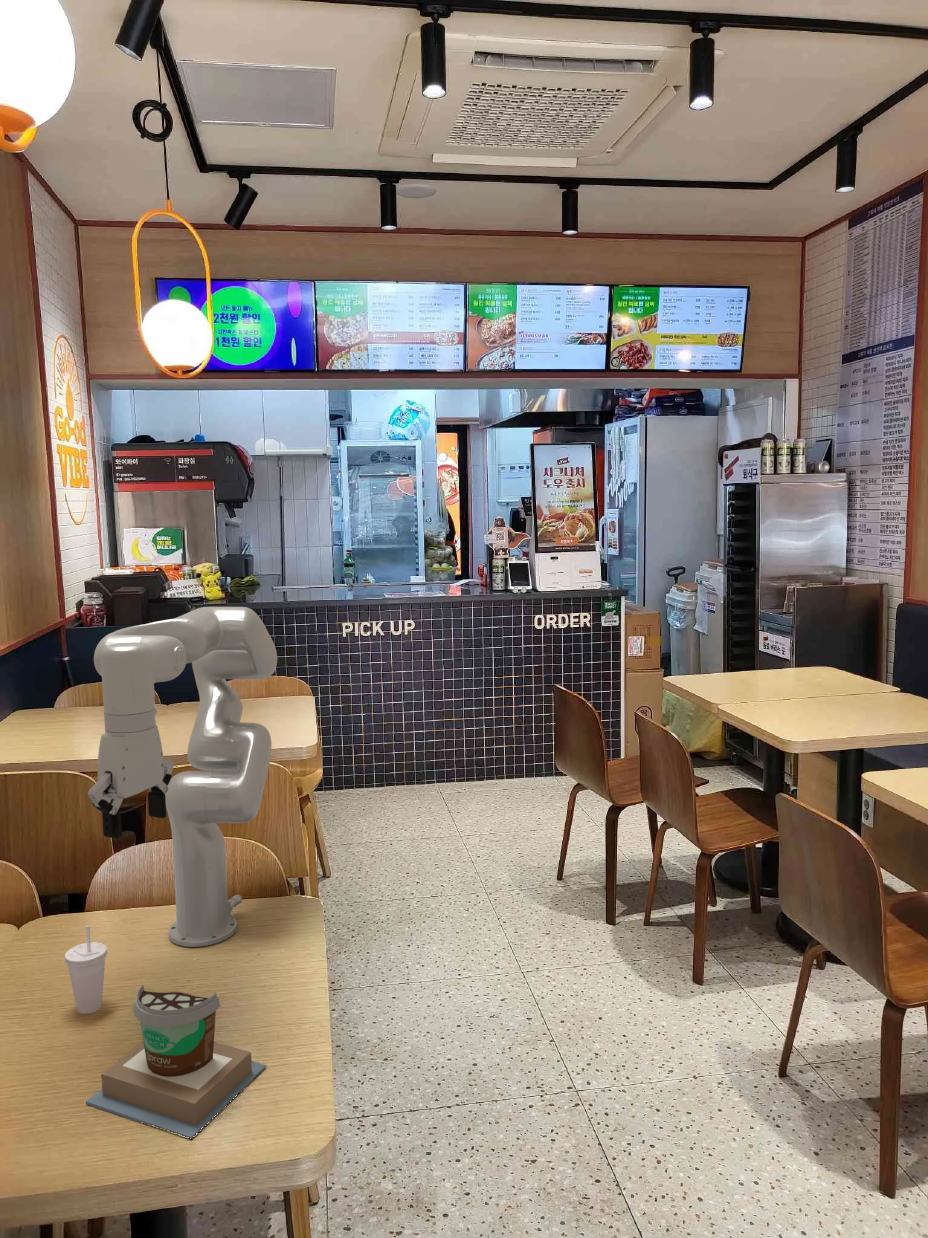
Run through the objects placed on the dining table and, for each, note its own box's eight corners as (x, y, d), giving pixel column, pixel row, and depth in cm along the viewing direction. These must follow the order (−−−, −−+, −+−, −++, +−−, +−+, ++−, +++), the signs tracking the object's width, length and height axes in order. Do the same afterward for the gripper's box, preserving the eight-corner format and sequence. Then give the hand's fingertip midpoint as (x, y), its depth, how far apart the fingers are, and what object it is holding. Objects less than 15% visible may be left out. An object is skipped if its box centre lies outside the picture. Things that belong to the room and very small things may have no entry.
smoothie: (95, 1021, 140) (90, 937, 138) (59, 1016, 141) (53, 933, 139) (118, 999, 146) (113, 918, 144) (84, 995, 147) (79, 915, 145)
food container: (118, 1076, 120) (114, 1007, 119) (142, 1049, 126) (139, 984, 125) (201, 1087, 118) (198, 1017, 117) (222, 1059, 124) (219, 992, 123)
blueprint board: (167, 1039, 134) (166, 1018, 134) (266, 1068, 127) (265, 1045, 127) (85, 1104, 120) (84, 1080, 119) (191, 1140, 113) (190, 1115, 112)
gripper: (151, 708, 147) (156, 807, 150) (68, 732, 132) (75, 842, 134) (186, 712, 145) (191, 812, 147) (106, 736, 129) (112, 849, 131)
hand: (135, 826), depth 140 cm, fingers open, 9 cm apart
